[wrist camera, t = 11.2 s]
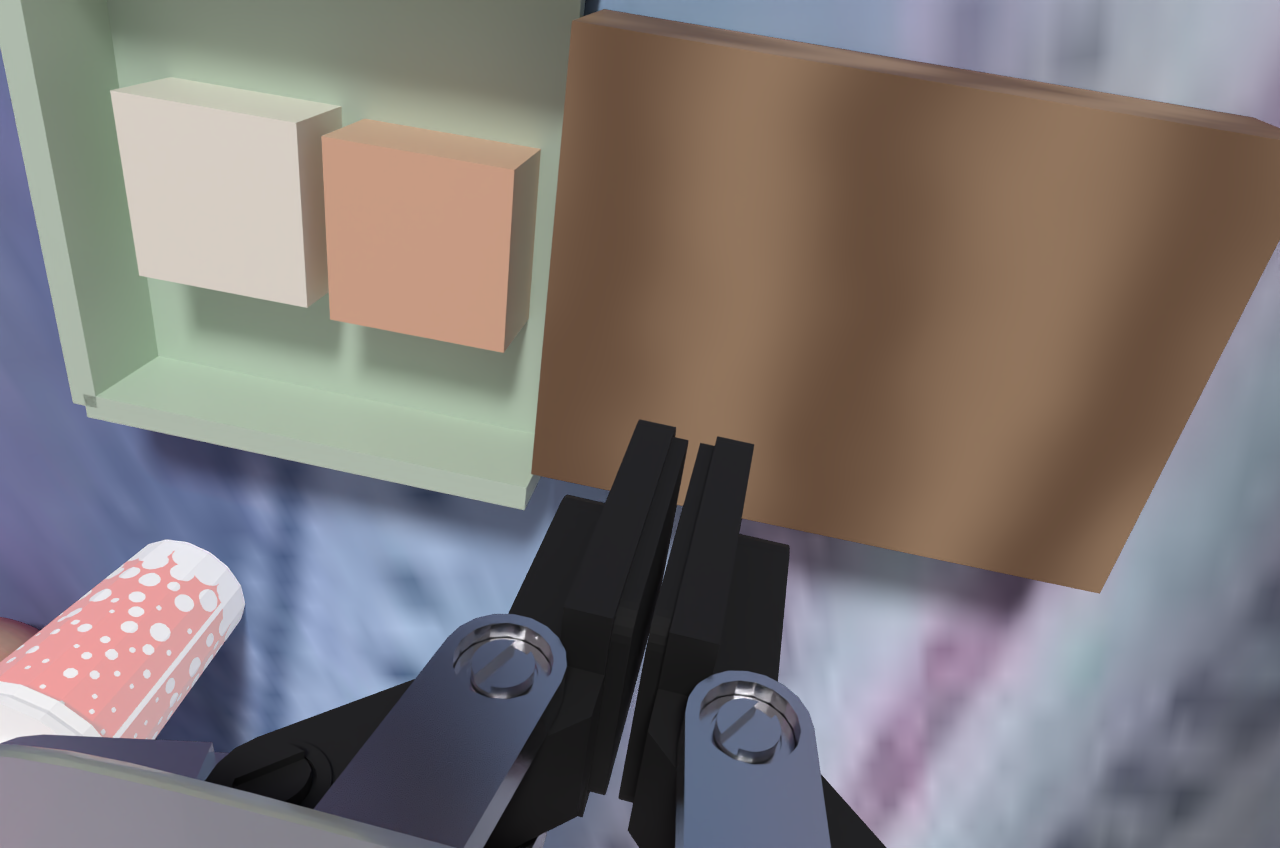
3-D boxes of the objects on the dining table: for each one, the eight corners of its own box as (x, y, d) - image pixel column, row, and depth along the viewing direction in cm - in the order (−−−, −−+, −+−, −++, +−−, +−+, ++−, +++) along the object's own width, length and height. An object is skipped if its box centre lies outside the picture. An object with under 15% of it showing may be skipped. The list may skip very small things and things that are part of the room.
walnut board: (1253, 117, 21) (1326, 147, 18) (1067, 520, 27) (1099, 593, 24) (603, 9, 23) (571, 20, 20) (560, 417, 29) (530, 473, 26)
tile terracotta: (541, 148, 24) (514, 170, 22) (528, 318, 27) (503, 352, 24) (364, 118, 25) (321, 135, 22) (368, 288, 27) (329, 319, 25)
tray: (605, -49, 22) (573, -47, 19) (554, 450, 29) (524, 510, 26) (72, -135, 23) (-39, -146, 20) (148, 366, 30) (75, 414, 27)
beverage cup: (90, 526, 35) (-300, 847, 22) (228, 518, 33) (-108, 855, 21) (155, 648, 37) (-160, 992, 25) (285, 645, 36) (17, 1008, 24)
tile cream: (110, 90, 23) (171, 77, 25) (139, 275, 25) (192, 248, 27) (296, 122, 22) (341, 106, 25) (307, 307, 25) (347, 278, 27)
